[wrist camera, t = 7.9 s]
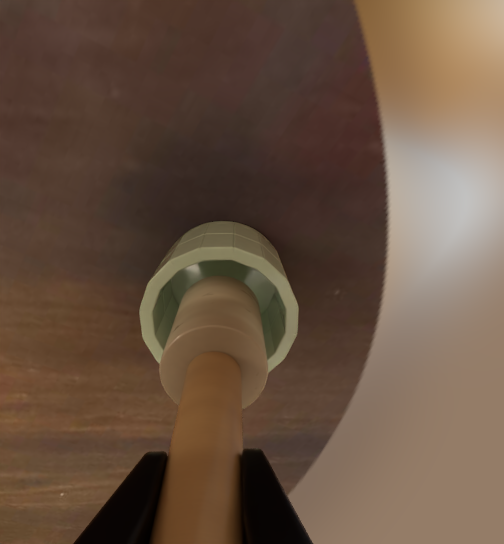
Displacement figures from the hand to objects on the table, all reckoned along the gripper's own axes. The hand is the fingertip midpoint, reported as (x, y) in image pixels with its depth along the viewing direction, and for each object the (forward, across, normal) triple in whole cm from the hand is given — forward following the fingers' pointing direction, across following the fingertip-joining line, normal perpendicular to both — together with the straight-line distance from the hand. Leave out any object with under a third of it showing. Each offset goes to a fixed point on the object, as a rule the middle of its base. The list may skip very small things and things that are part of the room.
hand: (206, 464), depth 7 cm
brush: (+7, 0, 0) cm, 7 cm away
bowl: (+11, 0, 0) cm, 11 cm away
